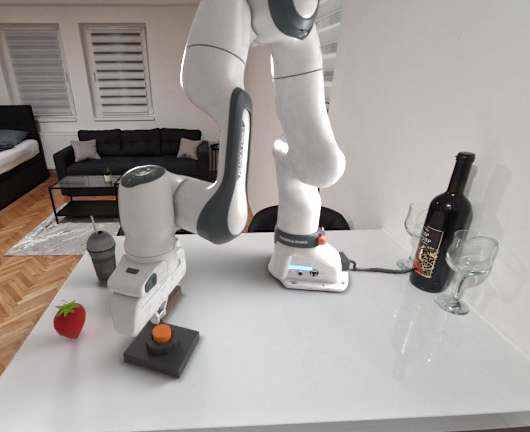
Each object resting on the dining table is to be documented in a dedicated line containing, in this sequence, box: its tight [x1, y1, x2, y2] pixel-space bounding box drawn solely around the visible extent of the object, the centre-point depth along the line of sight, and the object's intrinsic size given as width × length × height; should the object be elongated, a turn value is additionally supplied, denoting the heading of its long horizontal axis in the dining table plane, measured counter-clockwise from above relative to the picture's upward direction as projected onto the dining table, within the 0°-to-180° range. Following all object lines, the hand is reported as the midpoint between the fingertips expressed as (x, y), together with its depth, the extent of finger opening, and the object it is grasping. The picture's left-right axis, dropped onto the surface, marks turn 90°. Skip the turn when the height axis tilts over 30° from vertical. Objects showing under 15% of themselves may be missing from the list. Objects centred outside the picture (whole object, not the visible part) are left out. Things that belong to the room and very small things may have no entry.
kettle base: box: [123, 320, 201, 379], centre depth 62 cm, size 12×10×4 cm
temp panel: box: [160, 284, 182, 322], centre depth 75 cm, size 12×10×3 cm
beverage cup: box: [85, 215, 117, 288], centre depth 80 cm, size 7×7×20 cm
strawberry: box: [52, 299, 87, 340], centre depth 64 cm, size 6×8×10 cm
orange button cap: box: [152, 324, 171, 344], centre depth 61 cm, size 4×4×2 cm
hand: (158, 318), depth 60 cm, fingers closed
